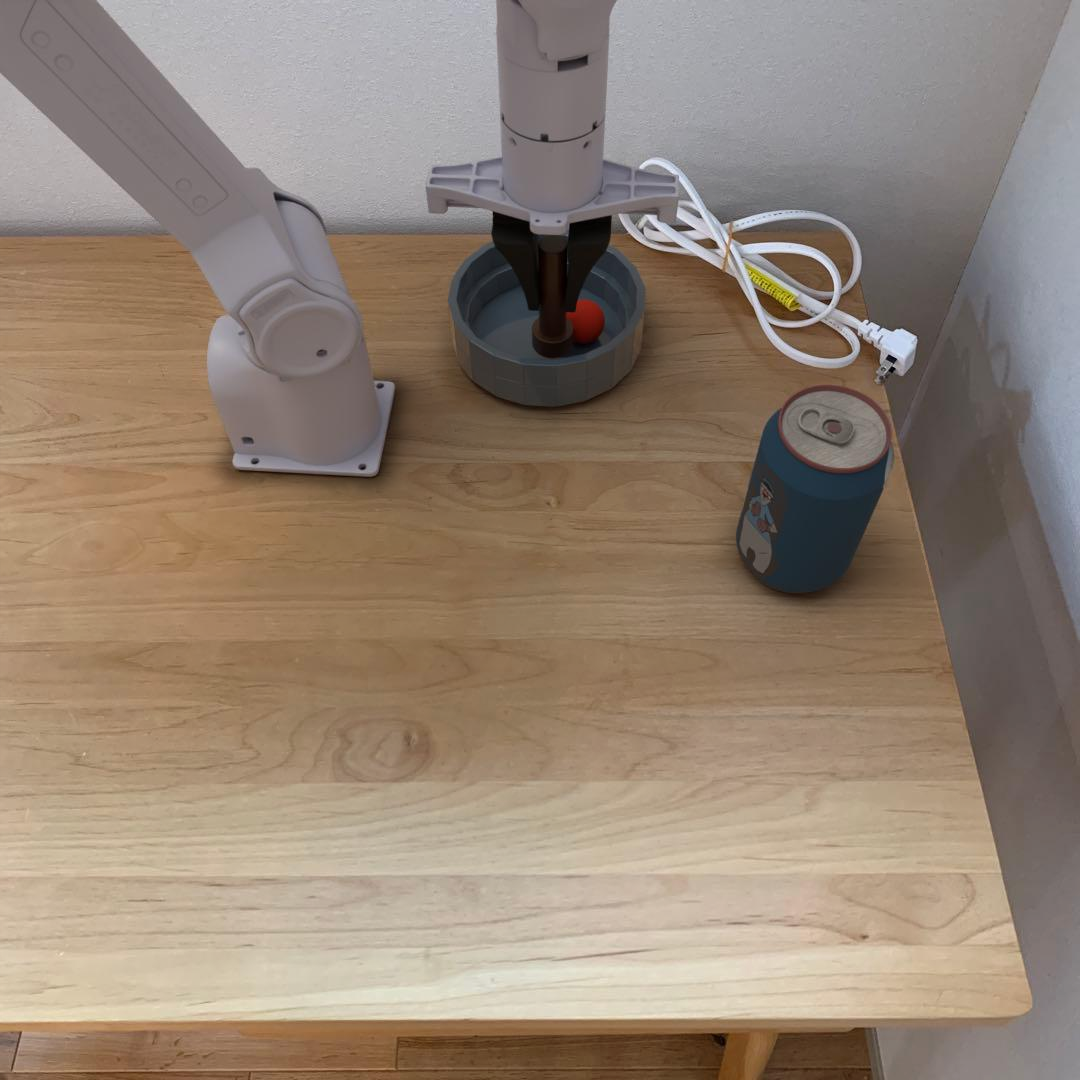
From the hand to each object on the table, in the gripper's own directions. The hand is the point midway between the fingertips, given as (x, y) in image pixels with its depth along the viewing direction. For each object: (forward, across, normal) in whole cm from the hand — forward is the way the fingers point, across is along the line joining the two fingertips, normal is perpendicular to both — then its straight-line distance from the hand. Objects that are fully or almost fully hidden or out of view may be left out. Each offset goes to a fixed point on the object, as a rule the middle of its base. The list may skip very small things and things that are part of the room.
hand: (552, 300), depth 67 cm
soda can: (+6, +16, -15) cm, 22 cm away
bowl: (+6, 0, +2) cm, 6 cm away
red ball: (+4, +2, +2) cm, 5 cm away
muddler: (+4, 0, 0) cm, 4 cm away
